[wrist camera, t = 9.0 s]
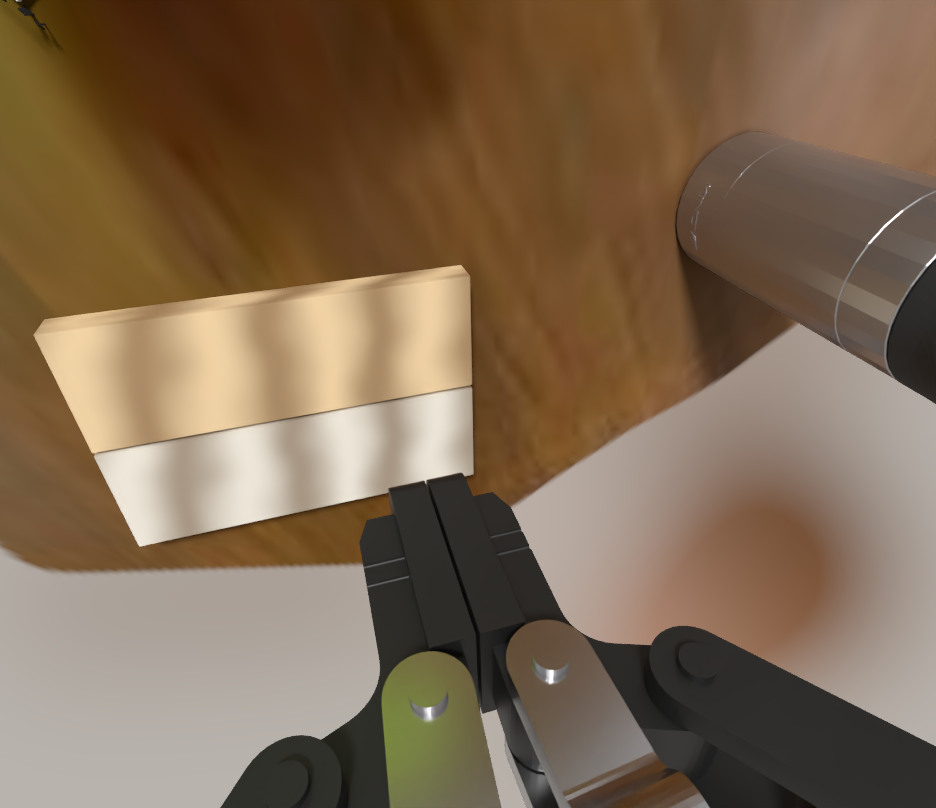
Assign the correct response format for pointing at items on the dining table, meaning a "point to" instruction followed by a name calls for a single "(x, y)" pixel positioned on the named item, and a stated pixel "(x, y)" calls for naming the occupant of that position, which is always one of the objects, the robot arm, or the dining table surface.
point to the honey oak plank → (259, 355)
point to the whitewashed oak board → (288, 464)
